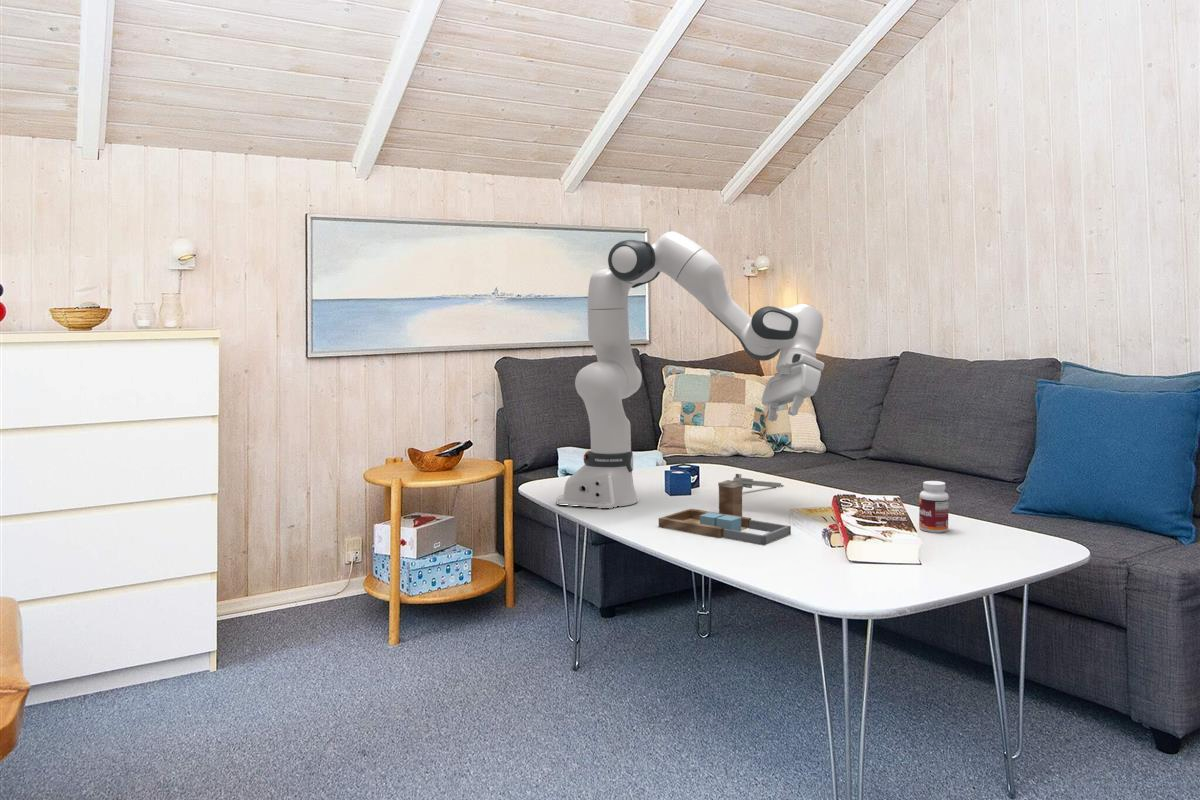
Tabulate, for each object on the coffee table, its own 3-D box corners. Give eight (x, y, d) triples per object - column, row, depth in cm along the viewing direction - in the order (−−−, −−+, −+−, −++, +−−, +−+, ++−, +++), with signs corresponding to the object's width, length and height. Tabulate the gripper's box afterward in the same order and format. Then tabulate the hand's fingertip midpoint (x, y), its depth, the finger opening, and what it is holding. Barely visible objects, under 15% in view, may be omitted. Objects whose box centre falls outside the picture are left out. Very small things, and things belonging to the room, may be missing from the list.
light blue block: (716, 531, 180) (716, 518, 179) (726, 527, 183) (726, 515, 182) (731, 533, 177) (731, 520, 177) (741, 530, 180) (741, 517, 180)
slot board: (658, 531, 185) (658, 518, 185) (691, 521, 195) (690, 508, 194) (720, 543, 174) (720, 529, 173) (751, 531, 183) (751, 518, 183)
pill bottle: (913, 527, 184) (914, 480, 183) (937, 526, 185) (938, 479, 184) (929, 534, 178) (929, 485, 177) (954, 532, 179) (954, 484, 178)
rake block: (718, 523, 192) (718, 482, 191) (728, 520, 195) (728, 480, 194) (733, 525, 189) (732, 484, 189) (742, 522, 192) (742, 481, 192)
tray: (723, 542, 174) (723, 529, 174) (751, 532, 183) (751, 519, 182) (763, 550, 167) (763, 536, 167) (790, 539, 176) (790, 526, 176)
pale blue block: (699, 528, 183) (699, 515, 182) (709, 524, 186) (709, 512, 185) (714, 530, 180) (714, 517, 180) (724, 527, 183) (724, 514, 183)
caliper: (735, 496, 225) (734, 474, 224) (732, 495, 226) (732, 474, 225) (784, 487, 237) (784, 466, 236) (781, 486, 237) (781, 466, 237)
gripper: (763, 370, 207) (749, 419, 203) (806, 352, 187) (793, 406, 184) (783, 379, 208) (770, 428, 204) (829, 362, 189) (815, 416, 185)
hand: (781, 417), depth 194 cm, fingers open, 8 cm apart
